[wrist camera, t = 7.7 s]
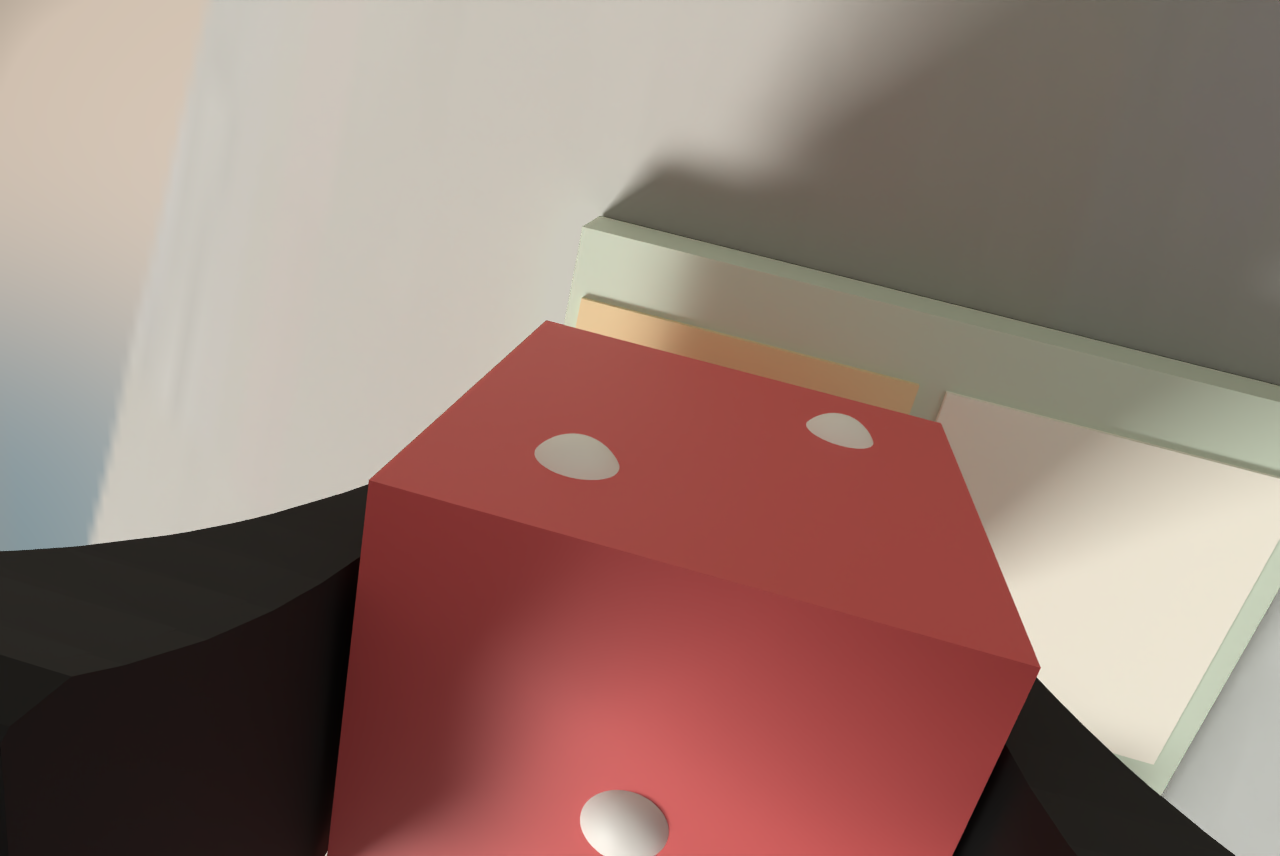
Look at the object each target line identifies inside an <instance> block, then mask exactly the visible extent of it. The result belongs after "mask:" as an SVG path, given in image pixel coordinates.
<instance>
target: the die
mask: <svg viewBox="0 0 1280 856" xmlns="http://www.w3.org/2000/svg"><path fill="white" fill-rule="evenodd" d="M1040 669H1041V667H1040V664H1039V662H1038V659H1037V657H1036V655H1035V652H1034V650H1033V647H1032V645H1031V642H1030V640H1029V637H1028V635H1027V632H1026V630H1025V628H1024V625H1023V623H1022V620H1021V618H1020V615H1019V613H1018V610H1017V608H1016V606H1015V603H1014V601H1013V598H1012V596H1011V593H1010V591H1009V588H1008V586H1007V583H1006V581H1005V579H1004V576H1003V574H1002V571H1001V569H1000V566H999V564H998V561H997V559H996V557H995V554H994V552H993V549H992V547H991V544H990V542H989V539H988V537H987V534H986V532H985V530H984V527H983V525H982V522H981V520H980V517H979V515H978V512H977V510H976V508H975V505H974V503H973V500H972V498H971V495H970V493H969V490H968V488H967V485H966V483H965V481H964V478H963V476H962V473H961V471H960V468H959V466H958V463H957V461H956V459H955V456H954V454H953V451H952V449H951V446H950V444H949V441H948V439H947V436H946V434H945V432H944V429H943V427H942V424H941V423H938V422H935V421H931V420H927V419H923V418H919V417H915V416H912V415H908V414H904V413H900V412H896V411H892V410H888V409H885V408H881V407H877V406H873V405H869V404H865V403H862V402H858V401H854V400H850V399H846V398H842V397H839V396H835V395H831V394H827V393H823V392H819V391H816V390H812V389H808V388H804V387H800V386H796V385H793V384H789V383H785V382H781V381H777V380H773V379H770V378H766V377H762V376H758V375H754V374H750V373H746V372H743V371H739V370H735V369H731V368H727V367H723V366H720V365H716V364H712V363H708V362H704V361H700V360H697V359H693V358H689V357H685V356H681V355H677V354H674V353H670V352H666V351H662V350H658V349H654V348H651V347H647V346H643V345H639V344H635V343H631V342H628V341H624V340H620V339H616V338H612V337H608V336H605V335H601V334H597V333H593V332H589V331H585V330H581V329H578V328H574V327H570V326H566V325H562V324H558V323H555V322H551V321H547V320H546V321H545V322H544V323H543V324H542V325H541V326H539V327H538V328H537V329H536V330H535V331H534V332H533V333H532V334H531V335H530V336H528V337H527V338H526V339H525V340H524V341H523V342H522V343H521V344H520V345H518V346H517V347H516V348H515V349H514V350H513V351H512V352H511V353H510V354H508V355H507V356H506V357H505V358H504V359H503V360H502V361H501V362H500V363H498V364H497V365H496V366H495V367H494V368H493V369H492V370H491V371H490V372H488V373H487V374H486V375H485V376H484V377H483V378H482V379H481V380H480V381H478V382H477V383H476V384H475V385H474V386H473V387H472V388H471V389H470V390H468V391H467V392H466V393H465V394H464V395H463V396H462V397H461V398H460V399H458V400H457V401H456V402H455V403H454V404H453V405H452V406H451V407H450V408H448V409H447V410H446V411H445V412H444V413H443V414H442V415H441V416H440V417H438V418H437V419H436V420H435V421H434V422H433V423H432V424H431V425H430V426H428V427H427V428H426V429H425V430H424V431H423V432H422V433H421V434H420V435H418V436H417V437H416V438H415V439H414V440H413V441H412V442H411V443H410V444H408V445H407V446H406V447H405V448H404V449H403V450H402V451H401V452H400V453H398V454H397V455H396V456H395V457H394V458H393V459H392V460H391V461H390V462H389V463H387V464H386V465H385V466H384V467H383V468H382V469H381V470H380V471H379V472H377V473H376V474H375V475H374V476H373V477H372V478H371V479H370V480H369V484H368V493H367V502H366V511H365V520H364V529H363V538H362V547H361V556H360V565H359V574H358V583H357V592H356V601H355V610H354V619H353V628H352V637H351V646H350V655H349V664H348V673H347V682H346V691H345V700H344V709H343V718H342V727H341V736H340V745H339V754H338V763H337V772H336V781H335V790H334V799H333V808H332V817H331V826H330V835H329V844H328V853H327V856H952V855H953V853H954V851H955V849H956V847H957V845H958V843H959V840H960V838H961V836H962V834H963V832H964V830H965V828H966V826H967V823H968V821H969V819H970V817H971V815H972V813H973V811H974V809H975V807H976V804H977V802H978V800H979V798H980V796H981V794H982V792H983V790H984V787H985V785H986V783H987V781H988V779H989V777H990V775H991V773H992V771H993V768H994V766H995V764H996V762H997V760H998V758H999V756H1000V754H1001V751H1002V749H1003V747H1004V745H1005V743H1006V741H1007V739H1008V737H1009V735H1010V732H1011V730H1012V728H1013V726H1014V724H1015V722H1016V720H1017V718H1018V715H1019V713H1020V711H1021V709H1022V707H1023V705H1024V703H1025V701H1026V699H1027V696H1028V694H1029V692H1030V690H1031V688H1032V686H1033V684H1034V682H1035V680H1036V677H1037V675H1038V673H1039V671H1040Z"/></svg>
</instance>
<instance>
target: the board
mask: <svg viewBox="0 0 1280 856" xmlns="http://www.w3.org/2000/svg"><path fill="white" fill-rule="evenodd" d="M564 325H566V326H570V327H574V328H578V329H581V330H585V331H589V332H593V333H597V334H601V335H605V336H608V337H612V338H616V339H620V340H624V341H628V342H631V343H635V344H639V345H643V346H647V347H651V348H654V349H658V350H662V351H666V352H670V353H674V354H677V355H681V356H685V357H689V358H693V359H697V360H700V361H704V362H708V363H712V364H716V365H720V366H723V367H727V368H731V369H735V370H739V371H743V372H746V373H750V374H754V375H758V376H762V377H766V378H770V379H773V380H777V381H781V382H785V383H789V384H793V385H796V386H800V387H804V388H808V389H812V390H816V391H819V392H823V393H827V394H831V395H835V396H839V397H842V398H846V399H850V400H854V401H858V402H862V403H865V404H869V405H873V406H877V407H881V408H885V409H888V410H892V411H896V412H900V413H904V414H908V415H912V416H915V417H919V418H923V419H927V420H931V421H935V422H938V423H941V424H942V427H943V429H944V432H945V434H946V436H947V439H948V441H949V444H950V446H951V449H952V451H953V454H954V456H955V459H956V461H957V463H958V466H959V468H960V471H961V473H962V476H963V478H964V481H965V483H966V485H967V488H968V490H969V493H970V495H971V498H972V500H973V503H974V505H975V508H976V510H977V512H978V515H979V517H980V520H981V522H982V525H983V527H984V530H985V532H986V534H987V537H988V539H989V542H990V544H991V547H992V549H993V552H994V554H995V557H996V559H997V561H998V564H999V566H1000V569H1001V571H1002V574H1003V576H1004V579H1005V581H1006V583H1007V586H1008V588H1009V591H1010V593H1011V596H1012V598H1013V601H1014V603H1015V606H1016V608H1017V610H1018V613H1019V615H1020V618H1021V620H1022V623H1023V625H1024V628H1025V630H1026V632H1027V635H1028V637H1029V640H1030V642H1031V645H1032V647H1033V650H1034V652H1035V655H1036V657H1037V659H1038V662H1039V664H1040V667H1041V669H1040V671H1039V673H1038V675H1037V678H1038V679H1039V680H1040V681H1041V682H1042V683H1043V684H1044V685H1045V687H1046V688H1047V689H1048V690H1049V691H1050V692H1051V693H1052V694H1053V695H1054V696H1055V697H1056V698H1057V699H1058V700H1059V701H1060V702H1061V703H1062V704H1063V705H1064V706H1065V707H1066V708H1067V709H1068V710H1069V711H1070V712H1071V713H1072V714H1073V715H1074V716H1075V717H1076V718H1077V719H1078V720H1079V721H1080V722H1081V723H1082V724H1083V725H1084V726H1085V727H1086V728H1087V729H1088V730H1089V731H1090V732H1091V733H1092V734H1093V735H1094V736H1095V737H1096V738H1097V739H1099V740H1100V741H1101V742H1102V743H1103V744H1104V745H1105V746H1106V747H1107V748H1108V749H1109V750H1110V751H1111V752H1112V753H1113V754H1114V755H1115V756H1116V757H1117V758H1118V759H1120V760H1121V761H1122V762H1123V763H1124V764H1125V765H1126V766H1127V767H1128V768H1129V769H1130V770H1132V771H1133V772H1134V773H1135V774H1136V775H1137V776H1138V777H1140V778H1141V779H1142V780H1143V781H1144V782H1145V783H1146V784H1147V785H1149V786H1150V787H1151V788H1152V789H1153V790H1154V791H1156V792H1157V793H1158V794H1159V795H1162V793H1163V791H1164V789H1165V788H1166V786H1167V784H1168V782H1169V781H1170V779H1171V777H1172V775H1173V774H1174V772H1175V770H1176V768H1177V767H1178V765H1179V763H1180V761H1181V760H1182V758H1183V756H1184V754H1185V753H1186V751H1187V749H1188V747H1189V746H1190V744H1191V742H1192V740H1193V739H1194V737H1195V735H1196V733H1197V732H1198V730H1199V728H1200V726H1201V725H1202V723H1203V721H1204V719H1205V718H1206V716H1207V714H1208V712H1209V711H1210V709H1211V707H1212V705H1213V704H1214V702H1215V700H1216V698H1217V697H1218V695H1219V693H1220V691H1221V690H1222V688H1223V686H1224V684H1225V683H1226V681H1227V679H1228V677H1229V676H1230V674H1231V672H1232V670H1233V669H1234V667H1235V665H1236V663H1237V662H1238V660H1239V658H1240V656H1241V655H1242V653H1243V651H1244V649H1245V648H1246V646H1247V644H1248V642H1249V641H1250V639H1251V637H1252V635H1253V634H1254V632H1255V630H1256V628H1257V627H1258V625H1259V623H1260V621H1261V620H1262V618H1263V616H1264V614H1265V613H1266V611H1267V609H1268V607H1269V606H1270V604H1271V602H1272V600H1273V599H1274V597H1275V595H1276V593H1277V592H1278V590H1279V588H1280V386H1278V385H1274V384H1270V383H1266V382H1262V381H1258V380H1254V379H1250V378H1246V377H1242V376H1238V375H1234V374H1230V373H1226V372H1222V371H1218V370H1214V369H1210V368H1206V367H1202V366H1198V365H1194V364H1190V363H1186V362H1182V361H1178V360H1174V359H1170V358H1166V357H1162V356H1158V355H1154V354H1150V353H1146V352H1142V351H1138V350H1134V349H1130V348H1126V347H1122V346H1118V345H1114V344H1110V343H1106V342H1102V341H1098V340H1094V339H1090V338H1086V337H1082V336H1078V335H1074V334H1070V333H1066V332H1062V331H1058V330H1054V329H1050V328H1046V327H1042V326H1038V325H1034V324H1030V323H1026V322H1022V321H1018V320H1014V319H1010V318H1006V317H1002V316H998V315H994V314H990V313H986V312H982V311H978V310H974V309H970V308H966V307H962V306H958V305H954V304H950V303H946V302H942V301H938V300H934V299H930V298H926V297H922V296H918V295H914V294H910V293H906V292H902V291H898V290H894V289H890V288H886V287H882V286H878V285H874V284H870V283H866V282H862V281H858V280H854V279H850V278H846V277H842V276H838V275H834V274H830V273H826V272H822V271H818V270H814V269H810V268H806V267H802V266H798V265H794V264H790V263H786V262H782V261H778V260H774V259H770V258H766V257H762V256H758V255H754V254H750V253H746V252H742V251H738V250H734V249H730V248H726V247H722V246H718V245H714V244H710V243H706V242H702V241H698V240H694V239H690V238H686V237H682V236H678V235H674V234H670V233H666V232H662V231H658V230H654V229H650V228H646V227H642V226H638V225H634V224H630V223H626V222H622V221H618V220H614V219H611V218H607V217H603V216H599V217H597V218H596V219H594V220H593V221H591V222H589V223H588V224H586V225H584V226H583V227H582V232H581V237H580V243H579V248H578V253H577V258H576V264H575V269H574V274H573V279H572V285H571V290H570V295H569V300H568V306H567V311H566V316H565V321H564Z"/></svg>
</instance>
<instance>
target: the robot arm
mask: <svg viewBox="0 0 1280 856" xmlns="http://www.w3.org/2000/svg"><path fill="white" fill-rule="evenodd" d="M367 493H368V485H365V486H362V487H359V488H356V489H354V490H351V491H348V492H345V493H342V494H338V495H335V496H332V497H328V498H325V499H321V500H318V501H315V502H311V503H308V504H304V505H301V506H298V507H294V508H291V509H287V510H284V511H281V512H277V513H274V514H270V515H266V516H262V517H258V518H254V519H249V520H245V521H241V522H236V523H232V524H227V525H222V526H217V527H211V528H206V529H201V530H196V531H191V532H185V533H179V534H173V535H167V536H159V537H151V538H142V539H134V540H126V541H118V542H110V543H102V544H94V545H86V546H77V547H65V548H50V549H35V550H20V551H0V856H325V854H326V853H327V851H328V844H329V835H330V826H331V817H332V808H333V799H334V790H335V781H336V772H337V763H338V754H339V745H340V736H341V727H342V718H343V709H344V700H345V691H346V682H347V673H348V664H349V655H350V646H351V637H352V628H353V619H354V610H355V601H356V592H357V583H358V574H359V565H360V556H361V547H362V538H363V529H364V520H365V511H366V502H367ZM952 856H1235V855H1234V854H1233V853H1231V852H1230V851H1229V850H1227V849H1226V848H1225V847H1223V846H1222V845H1221V844H1220V843H1218V842H1217V841H1216V840H1214V839H1213V838H1212V837H1210V836H1209V835H1208V834H1207V833H1205V832H1204V831H1203V830H1202V829H1200V828H1199V827H1198V826H1197V825H1196V824H1194V823H1193V822H1192V821H1191V820H1190V819H1188V818H1187V817H1186V816H1185V815H1184V814H1182V813H1181V812H1180V811H1179V810H1177V809H1176V808H1175V807H1174V806H1173V805H1171V804H1170V803H1169V802H1168V801H1167V800H1165V799H1164V798H1163V797H1162V796H1161V795H1159V794H1158V793H1157V792H1156V791H1154V790H1153V789H1152V788H1151V787H1150V786H1149V785H1147V784H1146V783H1145V782H1144V781H1143V780H1142V779H1141V778H1140V777H1138V776H1137V775H1136V774H1135V773H1134V772H1133V771H1132V770H1130V769H1129V768H1128V767H1127V766H1126V765H1125V764H1124V763H1123V762H1122V761H1121V760H1120V759H1118V758H1117V757H1116V756H1115V755H1114V754H1113V753H1112V752H1111V751H1110V750H1109V749H1108V748H1107V747H1106V746H1105V745H1104V744H1103V743H1102V742H1101V741H1100V740H1099V739H1097V738H1096V737H1095V736H1094V735H1093V734H1092V733H1091V732H1090V731H1089V730H1088V729H1087V728H1086V727H1085V726H1084V725H1083V724H1082V723H1081V722H1080V721H1079V720H1078V719H1077V718H1076V717H1075V716H1074V715H1073V714H1072V713H1071V712H1070V711H1069V710H1068V709H1067V708H1066V707H1065V706H1064V705H1063V704H1062V703H1061V702H1060V701H1059V700H1058V699H1057V698H1056V697H1055V696H1054V695H1053V694H1052V693H1051V692H1050V691H1049V690H1048V689H1047V688H1046V687H1045V685H1044V684H1043V683H1042V682H1041V681H1040V680H1039V679H1038V678H1037V677H1036V680H1035V682H1034V684H1033V686H1032V688H1031V690H1030V692H1029V694H1028V696H1027V699H1026V701H1025V703H1024V705H1023V707H1022V709H1021V711H1020V713H1019V715H1018V718H1017V720H1016V722H1015V724H1014V726H1013V728H1012V730H1011V732H1010V735H1009V737H1008V739H1007V741H1006V743H1005V745H1004V747H1003V749H1002V751H1001V754H1000V756H999V758H998V760H997V762H996V764H995V766H994V768H993V771H992V773H991V775H990V777H989V779H988V781H987V783H986V785H985V787H984V790H983V792H982V794H981V796H980V798H979V800H978V802H977V804H976V807H975V809H974V811H973V813H972V815H971V817H970V819H969V821H968V823H967V826H966V828H965V830H964V832H963V834H962V836H961V838H960V840H959V843H958V845H957V847H956V849H955V851H954V853H953V855H952Z"/></svg>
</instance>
